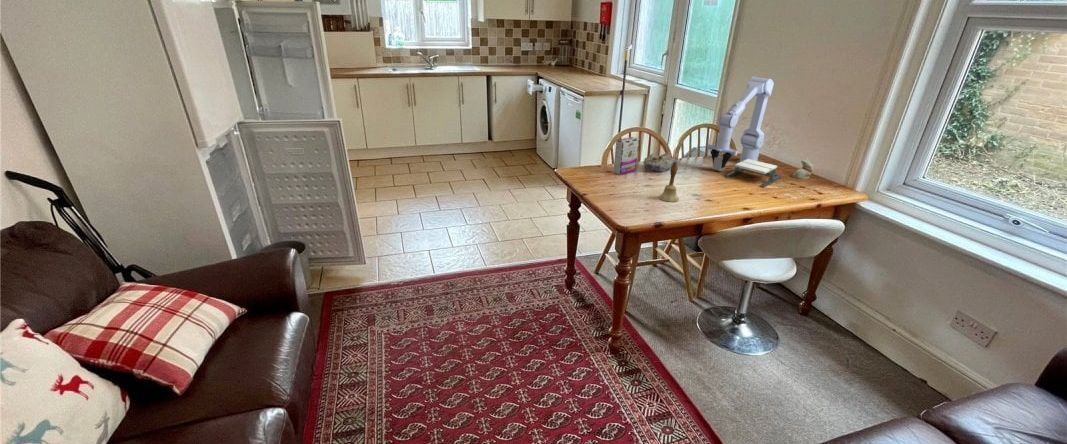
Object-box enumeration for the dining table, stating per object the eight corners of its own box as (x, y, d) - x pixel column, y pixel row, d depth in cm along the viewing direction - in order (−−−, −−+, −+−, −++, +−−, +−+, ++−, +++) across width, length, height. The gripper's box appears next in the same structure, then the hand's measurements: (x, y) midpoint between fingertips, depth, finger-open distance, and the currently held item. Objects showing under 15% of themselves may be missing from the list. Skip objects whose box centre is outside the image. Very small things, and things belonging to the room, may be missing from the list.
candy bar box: (628, 168, 228) (632, 136, 221) (635, 171, 224) (640, 138, 217) (612, 172, 222) (615, 139, 215) (619, 175, 218) (623, 142, 211)
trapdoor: (747, 160, 227) (748, 158, 226) (776, 167, 217) (777, 165, 217) (734, 166, 218) (735, 164, 217) (764, 174, 209) (765, 171, 208)
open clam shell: (809, 180, 219) (815, 160, 214) (791, 177, 223) (797, 157, 218) (810, 177, 223) (816, 157, 219) (793, 174, 227) (798, 154, 222)
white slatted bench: (743, 169, 232) (746, 156, 229) (780, 178, 220) (784, 165, 218) (725, 177, 220) (728, 164, 217) (763, 187, 208) (767, 174, 205)
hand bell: (663, 193, 199) (669, 158, 192) (682, 198, 194) (688, 162, 187) (655, 198, 193) (660, 162, 186) (674, 204, 188) (680, 167, 181)
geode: (638, 179, 229) (667, 181, 220) (634, 164, 224) (664, 165, 215) (651, 160, 239) (679, 161, 229) (648, 145, 233) (677, 145, 224)
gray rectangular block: (716, 167, 230) (718, 155, 227) (723, 169, 227) (726, 157, 225) (712, 169, 228) (714, 157, 225) (719, 171, 225) (722, 159, 222)
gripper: (706, 137, 223) (701, 164, 229) (735, 143, 214) (729, 171, 220) (713, 135, 228) (708, 161, 233) (741, 141, 218) (735, 168, 224)
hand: (718, 166), depth 227 cm, fingers closed on gray rectangular block, 4 cm apart
